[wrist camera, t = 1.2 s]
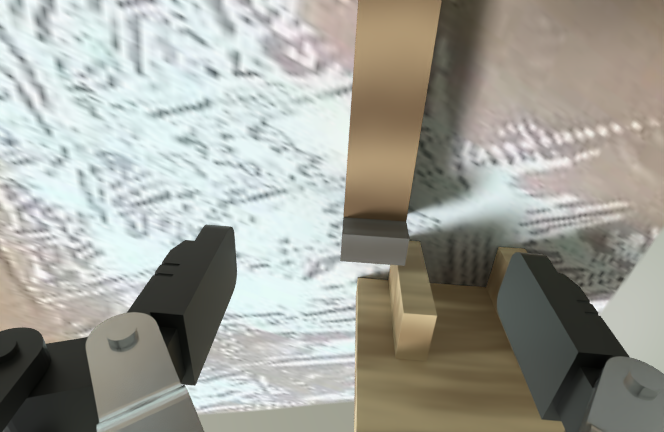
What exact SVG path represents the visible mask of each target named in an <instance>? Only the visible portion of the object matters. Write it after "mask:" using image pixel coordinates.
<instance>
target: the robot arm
mask: <svg viewBox="0 0 664 432" xmlns="http://www.w3.org/2000/svg"><path fill="white" fill-rule="evenodd" d="M236 278H237V264H236V251H235V237H234V230H233V228H232V227H228V226H217V225H205V226H204V227H203V229H202V230H201V232H200V233H199V235H198V236H197V238H196V240H195V241H189V240H185V241H183V242H182V243H180V244H179V245H177V246H176V247H175V248H173V249H172V250H170V252H169V253H168V255H167V256H166V257H165V259H164V260H163V262H162V265H160V266H159V267H158V269H157V270H156V272H155V275H153V276H152V277H151V279H150V280H149V282H148V283H147V285H146V286H145V287H144V289H143V290H142V292H141V293H140V295H139V296H138V297H137V299H136V300H135V302H134V303H133V305H132V306H131V307H130V309H129V310H128V312H127V313H124V314H120V315H116V316H114V317H111V318H109V319H107V320H105V321H104V322H102V323H101V324H99V325H98V326H97V327H96V328H95V329H94V330H93V331H92V332H91V333H90V335H89V336H88V337H85V338H80V339H74V340H68V341H61V342H55V343H49V344H45V341H44V339H43V337H42V335H41V334H40V333H39V332H38V331H37V330H35V329H31V328H12V329H8V330H4V331H1V332H0V432H204V430H203V427H202V425H201V422H200V420H199V417H198V415H197V412H196V410H195V408H194V405H193V403H192V400H191V398H190V395H189V393H188V391H187V389H186V387H185V385H196V383H197V380H198V378H199V375H200V373H201V370H202V368H203V365H204V363H205V360H206V358H207V355H208V353H209V351H210V348H211V346H212V343H213V341H214V338H215V336H216V333H217V331H218V328H219V326H220V323H221V321H222V318H223V316H224V314H225V311H226V309H227V306H228V304H229V301H230V299H231V296H232V294H233V291H234V288H235V284H236ZM589 302H590V301H589V299H588V298H587V297H586V295H585V294H584V292H583V291H582V290H581V288H580V287H579V286H578V285H577V284H575V283H574V282H573V281H572V280H570V279H569V278H568V277H567V276H565V275H564V274H560V273H558V272H557V271H556V269H555V268H554V266H553V265H552V263H551V262H550V260H549V259H548V258H547V256H546V255H544V254H533V253H522V252H516V253H514V254H513V255H512V257H511V259H510V262H509V265H508V267H507V270H506V273H505V276H504V279H503V281H502V284H501V287H500V290H499V292H498V296H497V311H498V315H499V317H500V320H501V322H502V325H503V327H504V330H505V332H506V334H507V337H508V339H509V342H510V344H511V347H512V349H513V351H514V354H515V356H516V359H517V361H518V364H519V366H520V368H521V371H522V373H523V376H524V378H525V380H526V383H527V385H528V388H529V390H530V393H531V395H532V397H533V400H534V402H535V405H536V407H537V410H538V412H539V414H540V417H541V419H542V420H552V421H561V422H562V424H563V426H564V428H565V431H564V432H664V374H663V373H662V372H660V371H659V370H657V369H656V368H654V367H653V366H650V365H649V364H647V363H645V362H642V361H640V360H637V359H634V358H630V357H629V355H628V354H627V353H626V351H625V350H624V348H623V347H622V346H621V344H620V343H619V342H618V340H617V339H616V337H615V336H614V334H613V333H612V332H611V330H610V329H609V327H608V326H607V325H606V323H605V322H604V320H603V319H602V318H601V316H598V312H597V311H596V309H595V308H594V306H593V305H592V304H590V303H589ZM181 384H185V385H183V386H182V385H181Z"/></svg>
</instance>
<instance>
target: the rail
mask: <svg viewBox="0 0 664 432" xmlns="http://www.w3.org/2000/svg"><path fill="white" fill-rule="evenodd" d="M441 2H442V0H358V13H357V28H356V42H355V57H354V72H353V86H352V101H351V116H350V130H349V145H348V160H347V174H346V189H345V204H344V218H343V232H342V247H341V261H347V262H361V263H374V264H388V265H402V266H405V262H406V256H407V250H408V244H409V234H408V229H407V223H406V219H407V213H408V207H409V201H410V194H411V188H412V182H413V176H414V170H415V163H416V157H417V151H418V145H419V139H420V132H421V126H422V120H423V114H424V107H425V101H426V95H427V89H428V83H429V76H430V70H431V64H432V58H433V51H434V45H435V39H436V33H437V27H438V20H439V14H440V8H441Z"/></svg>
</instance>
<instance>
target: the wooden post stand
mask: <svg viewBox="0 0 664 432" xmlns="http://www.w3.org/2000/svg"><path fill="white" fill-rule="evenodd" d="M516 252H522V253H527V251H526V250H525V249H522V248H508V247H498V250H497V253H496V257H495V260H494V263H493V266H492V270H491V273H490V276H489V279H488V283H487V286H486V287H478V286H465V285H451V284H437V283H430V282H429V278H428V274H427V269H426V265H425V261H424V256H423V252H422V248H421V243H420V241H409V244H408V250H407V256H406V262H405V266H402V265H390V271H389V277H388V280H383V279H369V278H358V281H357V291H356V335H355V410H354V411H355V413H354V432H564V431H565V428H564V426H563V424H562V422H561V421H552V420H542V419H541V417H540V414H539V412H538V410H537V407H536V405H535V402H534V400H533V397H532V395H531V393H530V390H529V388H528V385H527V383H526V380H525V378H524V376H523V373H522V371H521V368H520V366H519V364H518V361H517V359H516V356H515V354H514V351H513V349H512V347H511V344H510V342H509V339H508V337H507V334H506V332H505V330H504V327H503V325H502V322H501V320H500V317H499V315H498V311H497V296H498V292H499V290H500V287H501V284H502V281H503V279H504V276H505V273H506V270H507V267H508V265H509V262H510V259H511V257H512V255H513V254H514V253H516Z"/></svg>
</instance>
